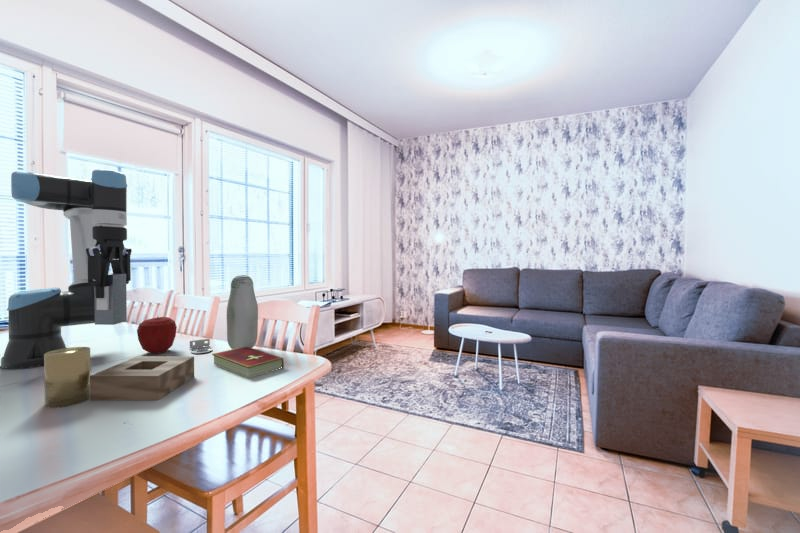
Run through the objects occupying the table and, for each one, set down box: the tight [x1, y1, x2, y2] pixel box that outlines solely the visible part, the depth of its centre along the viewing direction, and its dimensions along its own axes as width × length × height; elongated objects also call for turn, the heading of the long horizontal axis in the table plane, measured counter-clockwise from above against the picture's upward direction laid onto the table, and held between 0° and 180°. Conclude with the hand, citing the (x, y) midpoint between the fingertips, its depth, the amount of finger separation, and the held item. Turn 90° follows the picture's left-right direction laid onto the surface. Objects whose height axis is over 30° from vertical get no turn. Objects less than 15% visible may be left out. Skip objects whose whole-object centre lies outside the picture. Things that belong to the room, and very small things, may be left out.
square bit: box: [94, 272, 128, 326], centre depth 99 cm, size 5×5×14 cm
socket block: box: [89, 355, 195, 401], centre depth 92 cm, size 16×16×6 cm
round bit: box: [43, 346, 92, 409], centre depth 84 cm, size 8×8×12 cm
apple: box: [136, 316, 178, 355], centre depth 124 cm, size 12×12×13 cm
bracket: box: [189, 338, 213, 355], centre depth 127 cm, size 7×10×4 cm, turn 36°
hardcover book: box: [211, 347, 285, 379], centre depth 111 cm, size 12×21×4 cm, turn 54°
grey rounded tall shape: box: [226, 274, 259, 350], centre depth 127 cm, size 10×10×28 cm
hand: (110, 307), depth 99 cm, fingers closed on square bit, 5 cm apart
